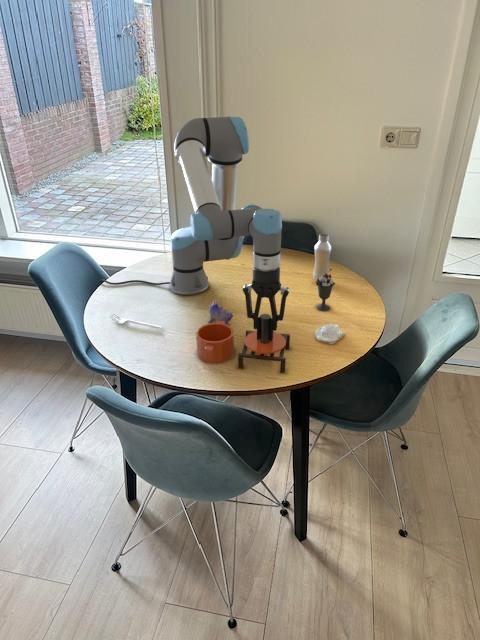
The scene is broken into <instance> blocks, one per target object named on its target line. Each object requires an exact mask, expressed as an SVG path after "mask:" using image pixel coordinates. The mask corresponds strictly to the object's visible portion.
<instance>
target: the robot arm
mask: <svg viewBox="0 0 480 640" xmlns="http://www.w3.org/2000/svg"><path fill="white" fill-rule="evenodd" d="M248 132H249V131H248V127H247V125H246V123H245V121H244V118H242V117H240V116H230V115H228V116H216V117H196V118H193V119H190V120H188V121H187V122H185V123H184V124H183V125H182V126H181V128H180V129H179V130H178V132H177V134H176V136H175V139H174V144H173V152H174V156H175V159H176V161H177V162H178V164H180V166H181V169H182V172H183V176H184V180H185V183H186V187H187V190H188V193H189V194H188V195H189V197H190V200H191V204H192V207H193V212H194V213H192V214H191V215H190V226H187V227H182V228H179V229H177V230H175V231H174V232H173V233H172V234H171V237H170V249H171V259H172V260H171V261H172V274H171V277H170V281H164V282H163V281H162V282H150V281H148V280H147V281H145V280H140V279H133V280H132V279H131V280H126V281H121V282H111V281H108V280H107V279H100V280H98V283H102V282H104V283H106V284H109V285H111V286H113V285H115V286H117V285H124V284H129V283H142V284H147V285H153V286H162V285H169V290H170V291H171V292H172V293H174V294H176V295H180V296H196V295H200V294H202V293H204V292H206V291H207V290H208V289H209V287H210V286H209V277H208V276H207V274H206V271H205V269H204V263H206V262H215V261H224V260H232V259H237V258H238V257H239V256H240V255H241V253H242V250H243V237H248V236H249V237H251V238H252V281H251V283H249V284H244V285H243V287H242V292H243V294H244V296H245V305H246V306H245V309H246V318H247V319H251V320H253V322H252V323H253V325H252V327H253V330H256V331H257V340H259V339H260V315H259V314H260V311H261V304H262V300H263V299H264V298H266V299H268V301H269V305H270V306H269V307H270V313H271V321H270V341H272V340H273V331H274V332H277V329H278V322H279V321H281V322H282V321H283V320H284V317H285V310H286V302H287V297H288V295H289V294H290V288H289V287H287V286H286V287H285V286H282V283H281V267H280V266H281V255H282V253H281V251H282V250H281V249H282V231H283V230H282V229H283V223H282V221H283V220H282V214H281V211H279V210H276V209H274V208H262V207H260V206H259V205H258V204H254V203H250V204H246V205H244V206H243V207H242V208H241V209H239V208H237V209H236V197H237V178H238V165H240V164H241V163H242V162H243V155H247V154H248V153H249V151H250V138H249V133H248ZM206 157H207V160H208V162H210V163H211V168H212V169H211V173H210V170H209V167H208V163H207V160H206ZM252 291H254V293H255V294H256V295H257V296H256V302H255V307H254V312H253V300H252ZM278 292H280V295H281V299H280V305H279V306H280V307H279V313H278V309H277V303H276V295H277V294H278Z"/></svg>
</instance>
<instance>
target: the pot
mask: <svg viewBox="0 0 480 640" xmlns="http://www.w3.org/2000/svg"><path fill="white" fill-rule="evenodd" d="M195 338H196V339H195V340H196V353H197V357H198V358H199V360H201V361H203V362H206V363H210V364H220V363H224V362H227V361H229V360H230V359H232V358H233V356H234V353H235V331H234V329H233V327H231V326H230V325H229V324H228V325H226V324H225V321H217V323H216V322H212V323H210V324H208V323H206V324H204V325H203V324H202V325H201V326H200V327H199V328H197V330H196V332H195Z"/></svg>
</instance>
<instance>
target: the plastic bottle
mask: <svg viewBox="0 0 480 640" xmlns="http://www.w3.org/2000/svg"><path fill="white" fill-rule="evenodd" d="M329 241H330V235H329V234H328V233H320V234H319V235H318V242H317V243H315V245H314V248H313V249H314V250H313V251H314V267H313V272H312V276H311V277H312V281H313V282H314V283H315V284H316V281H317V279H320V277H322V276H323V275H324V274H325V273H327V274H328V275H330V271H329V270H330V269H329V266H330V265H329V264H330V259H331V258H330V257H331V254H332V253H331V252H332V245H331V244H330V242H329Z"/></svg>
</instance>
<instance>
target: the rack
mask: <svg viewBox="0 0 480 640" xmlns="http://www.w3.org/2000/svg"><path fill="white" fill-rule="evenodd" d="M255 331H256V330H248V329H245V337H246V336H247V335H249V334H250V333H252V332H255ZM278 333H279V332H278ZM279 334H281V335H282V336H283V337H284V338H285V341H286V343H285V347H284V348H283V349H282V350H280V351H279V355H278V356H275V354H276V353H271V354H269V355H266V354H260V353H259V354H256V353H255V352H253V351H251V350H250V353H247V351H248V348H247V347H246V346H245V342H244V343H243V346H242V350H241V352H238V354H237V369H240V370H243V368H244V359H251V360H260V361H268V362H269V361H270V362H279V364H280V366H279V373H280V374H285V373H286V365H287V364H286V363H287V362H286V361H287V357H285V351H286V350H287V351H290V346H291V345H290V344H291V334H290V333H281V332H280V333H279Z"/></svg>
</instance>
